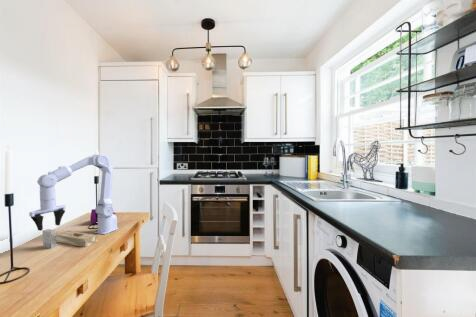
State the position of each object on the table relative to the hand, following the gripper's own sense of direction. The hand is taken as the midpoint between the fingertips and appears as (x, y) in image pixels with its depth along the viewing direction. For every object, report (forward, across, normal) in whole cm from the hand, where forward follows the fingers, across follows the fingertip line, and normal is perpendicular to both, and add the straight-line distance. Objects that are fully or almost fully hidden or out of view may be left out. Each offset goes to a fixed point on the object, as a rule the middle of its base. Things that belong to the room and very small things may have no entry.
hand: (49, 227), depth 112 cm
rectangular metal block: (+9, 0, 0) cm, 9 cm away
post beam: (+9, -8, +6) cm, 14 cm away
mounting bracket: (+10, -41, -13) cm, 44 cm away
